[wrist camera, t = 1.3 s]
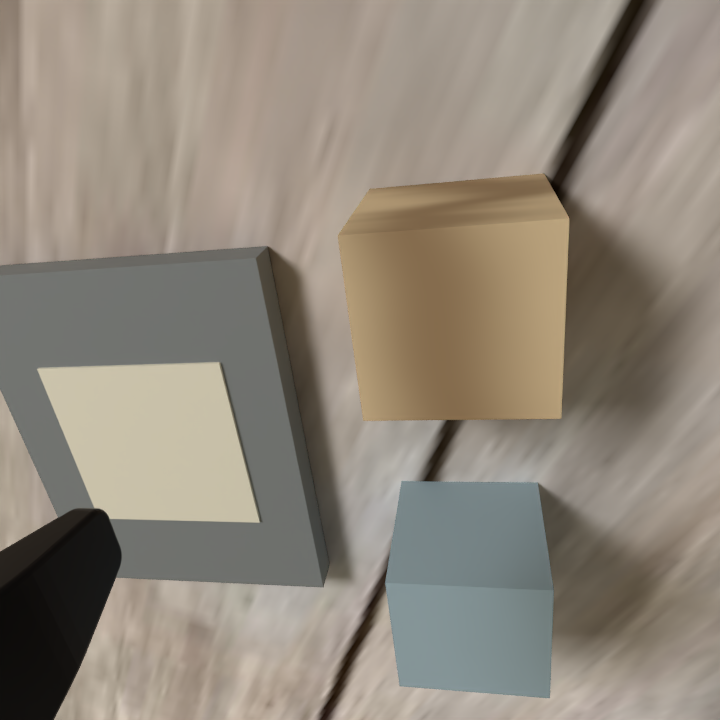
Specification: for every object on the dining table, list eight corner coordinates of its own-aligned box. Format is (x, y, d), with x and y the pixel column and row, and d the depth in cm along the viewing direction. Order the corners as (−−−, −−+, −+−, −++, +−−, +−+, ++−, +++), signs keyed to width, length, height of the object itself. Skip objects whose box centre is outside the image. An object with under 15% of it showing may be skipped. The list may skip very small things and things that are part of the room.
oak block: (544, 173, 17) (569, 218, 12) (540, 332, 19) (561, 418, 15) (370, 188, 18) (337, 235, 13) (386, 338, 20) (363, 420, 16)
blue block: (537, 481, 22) (553, 590, 17) (535, 579, 24) (549, 698, 20) (402, 479, 23) (385, 582, 18) (412, 574, 25) (399, 686, 21)
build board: (267, 246, 19) (254, 259, 18) (329, 565, 25) (322, 589, 24) (-25, 267, 21) (-52, 280, 20) (99, 555, 28) (83, 577, 26)
